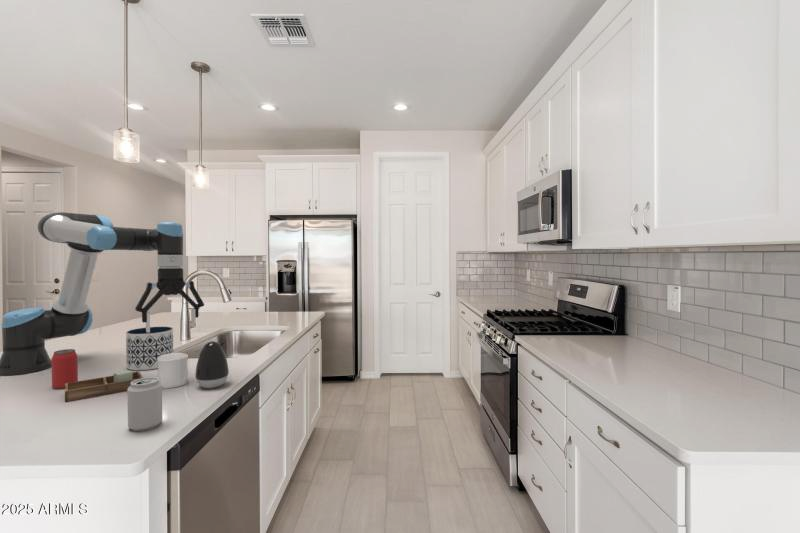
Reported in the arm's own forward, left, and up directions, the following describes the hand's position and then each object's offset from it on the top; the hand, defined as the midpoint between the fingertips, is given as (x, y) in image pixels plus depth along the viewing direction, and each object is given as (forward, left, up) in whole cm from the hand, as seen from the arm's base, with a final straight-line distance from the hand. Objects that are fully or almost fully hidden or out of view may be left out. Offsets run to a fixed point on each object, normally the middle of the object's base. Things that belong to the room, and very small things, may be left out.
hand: (171, 329), depth 132 cm
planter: (-32, -2, -19) cm, 37 cm away
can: (+33, -12, -19) cm, 40 cm away
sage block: (-7, -13, -18) cm, 23 cm away
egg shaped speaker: (+11, +10, -19) cm, 24 cm away
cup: (0, 0, -19) cm, 19 cm away
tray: (-7, -18, -19) cm, 27 cm away
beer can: (-21, -28, -19) cm, 40 cm away
